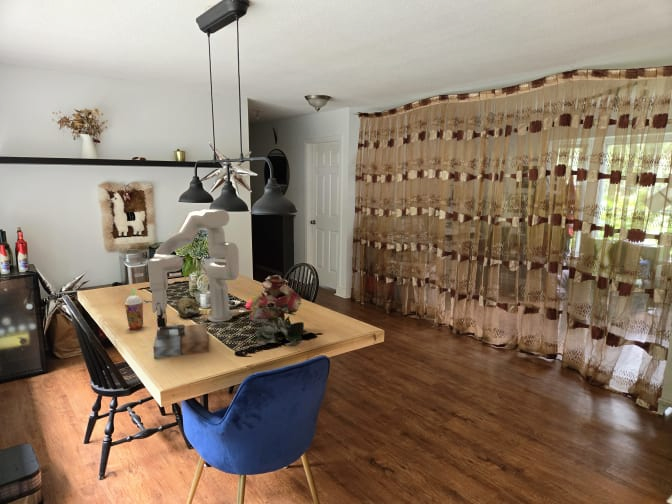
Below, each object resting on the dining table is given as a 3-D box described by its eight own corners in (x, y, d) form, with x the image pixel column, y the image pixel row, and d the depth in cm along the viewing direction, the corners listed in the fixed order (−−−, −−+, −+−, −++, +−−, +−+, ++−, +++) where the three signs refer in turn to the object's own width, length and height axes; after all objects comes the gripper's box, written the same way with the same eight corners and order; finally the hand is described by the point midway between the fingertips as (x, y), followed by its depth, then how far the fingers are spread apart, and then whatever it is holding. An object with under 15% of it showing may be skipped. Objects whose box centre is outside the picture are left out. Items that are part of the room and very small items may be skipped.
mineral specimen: (203, 317, 231) (202, 299, 230) (179, 320, 226) (177, 303, 224) (199, 310, 244) (198, 293, 243) (175, 313, 238) (174, 296, 237)
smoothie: (125, 331, 210) (121, 292, 207) (129, 325, 218) (125, 288, 215) (143, 329, 213) (140, 291, 209) (146, 324, 220) (142, 287, 217)
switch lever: (185, 326, 193) (184, 311, 191) (184, 329, 189) (182, 313, 188) (159, 328, 191) (158, 313, 190) (157, 330, 187) (156, 315, 186)
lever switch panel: (206, 333, 207) (205, 315, 205) (208, 351, 184) (207, 332, 183) (158, 338, 200) (156, 321, 198) (154, 358, 177) (152, 338, 176)
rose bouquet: (304, 324, 217) (303, 268, 212) (302, 346, 188) (300, 281, 183) (254, 326, 216) (252, 269, 211) (244, 348, 187) (241, 282, 183)
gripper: (153, 281, 193) (156, 319, 196) (146, 290, 177) (149, 332, 180) (170, 280, 195) (173, 318, 198) (164, 289, 179) (168, 330, 182)
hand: (162, 324), depth 189 cm, fingers closed on switch lever, 3 cm apart
